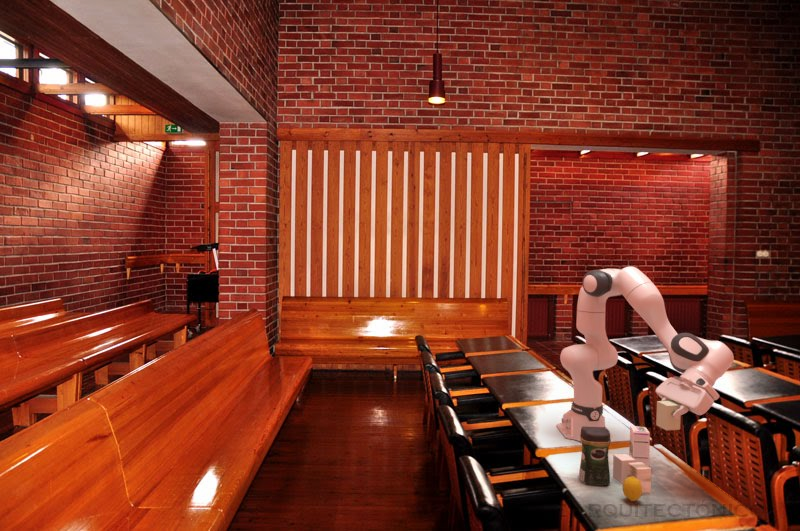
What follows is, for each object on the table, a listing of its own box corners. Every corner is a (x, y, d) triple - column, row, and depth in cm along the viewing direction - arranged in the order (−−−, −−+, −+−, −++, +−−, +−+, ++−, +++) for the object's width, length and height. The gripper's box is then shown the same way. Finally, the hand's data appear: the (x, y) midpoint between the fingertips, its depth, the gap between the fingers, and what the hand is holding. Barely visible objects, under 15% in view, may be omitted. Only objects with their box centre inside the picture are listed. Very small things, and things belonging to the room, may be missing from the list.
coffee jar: (604, 476, 184) (606, 423, 183) (612, 487, 176) (614, 432, 175) (576, 475, 185) (577, 422, 184) (582, 486, 177) (584, 431, 176)
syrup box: (649, 472, 188) (651, 432, 187) (631, 470, 189) (633, 430, 189) (645, 465, 194) (646, 426, 193) (628, 464, 195) (629, 425, 194)
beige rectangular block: (656, 425, 177) (657, 401, 176) (669, 424, 177) (670, 400, 177) (666, 430, 172) (667, 405, 171) (680, 429, 172) (681, 405, 172)
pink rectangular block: (612, 477, 184) (613, 454, 183) (626, 476, 185) (626, 454, 184) (621, 484, 179) (621, 460, 178) (634, 483, 180) (635, 459, 179)
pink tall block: (627, 486, 177) (628, 463, 177) (641, 485, 178) (641, 462, 177) (636, 493, 172) (637, 469, 172) (650, 492, 173) (651, 468, 173)
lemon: (625, 495, 171) (626, 471, 170) (643, 501, 167) (644, 476, 167) (619, 501, 166) (620, 476, 166) (638, 507, 163) (639, 482, 163)
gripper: (667, 368, 185) (641, 397, 184) (711, 384, 165) (682, 417, 164) (678, 381, 186) (652, 409, 185) (723, 398, 166) (694, 430, 165)
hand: (666, 413), depth 174 cm, fingers closed on beige rectangular block, 5 cm apart
